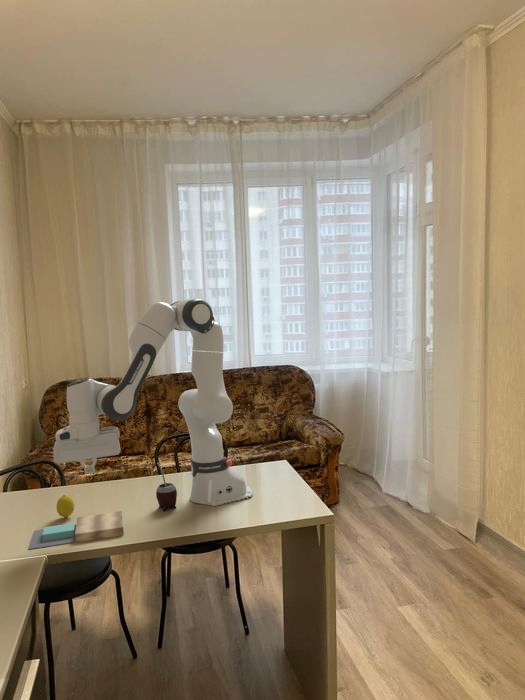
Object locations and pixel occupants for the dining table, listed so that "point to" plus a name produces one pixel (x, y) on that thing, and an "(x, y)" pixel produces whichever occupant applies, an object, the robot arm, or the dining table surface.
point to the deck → (99, 526)
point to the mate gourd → (166, 494)
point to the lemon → (65, 506)
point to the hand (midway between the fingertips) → (89, 472)
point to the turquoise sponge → (59, 532)
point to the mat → (39, 543)
